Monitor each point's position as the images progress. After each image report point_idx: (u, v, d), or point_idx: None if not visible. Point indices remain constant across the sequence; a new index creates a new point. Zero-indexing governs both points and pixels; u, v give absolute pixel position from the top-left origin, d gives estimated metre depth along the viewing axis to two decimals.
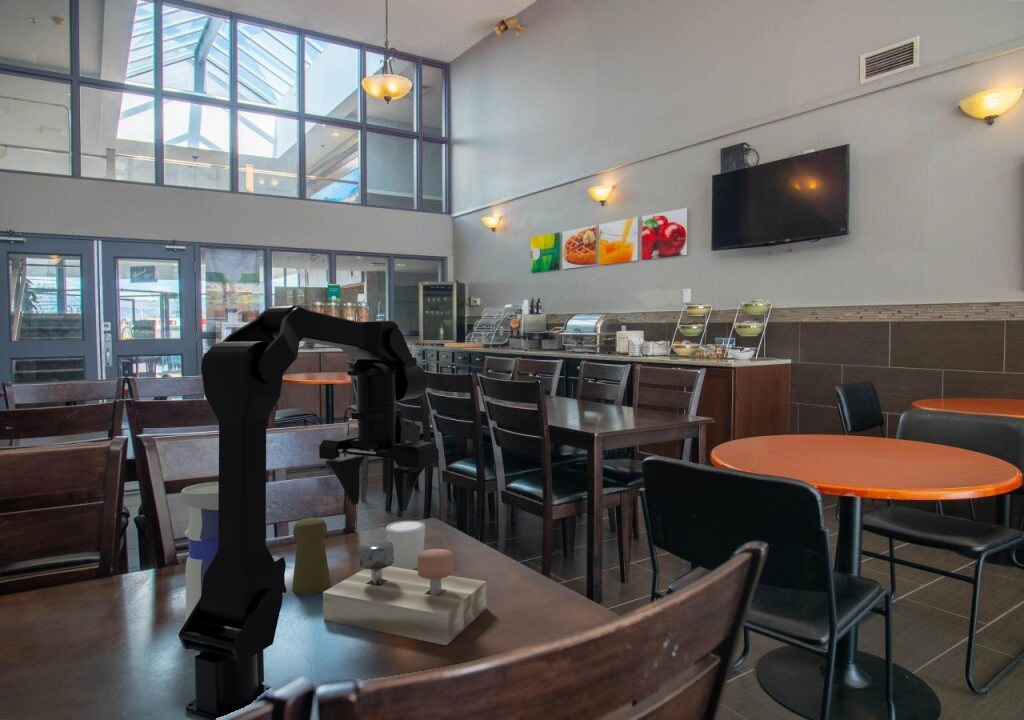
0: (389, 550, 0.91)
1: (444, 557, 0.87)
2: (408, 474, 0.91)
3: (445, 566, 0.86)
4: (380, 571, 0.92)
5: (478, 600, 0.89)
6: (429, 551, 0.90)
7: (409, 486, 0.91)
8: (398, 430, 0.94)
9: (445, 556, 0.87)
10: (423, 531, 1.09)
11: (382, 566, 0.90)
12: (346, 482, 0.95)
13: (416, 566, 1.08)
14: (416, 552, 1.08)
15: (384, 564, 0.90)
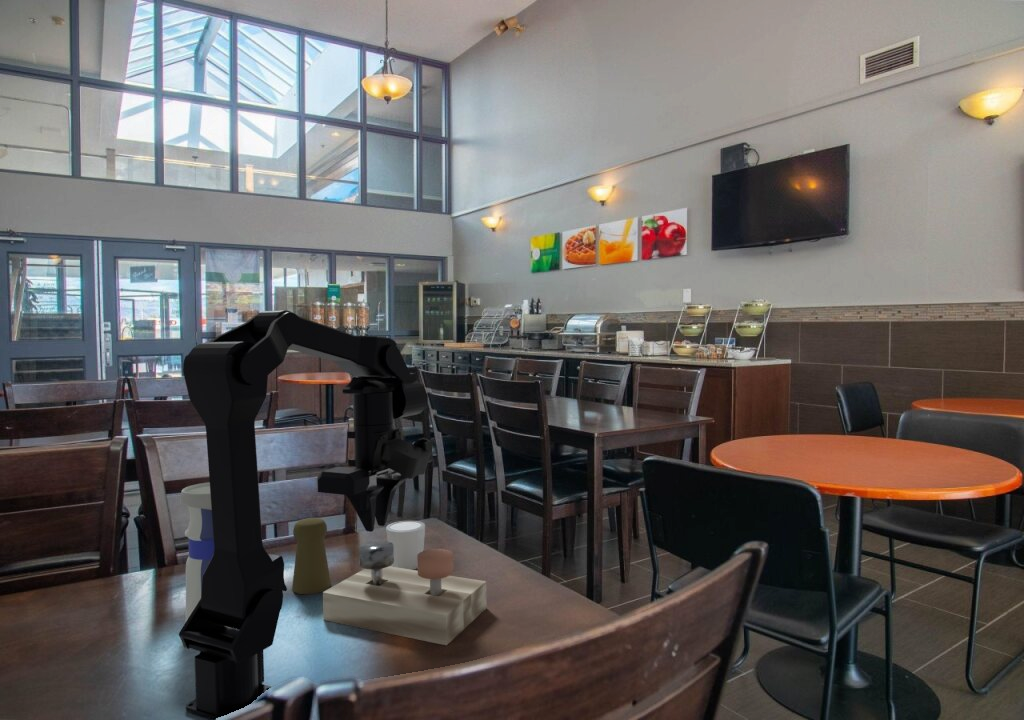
0: (389, 550, 0.91)
1: (444, 557, 0.87)
2: (363, 495, 0.89)
3: (445, 566, 0.86)
4: (380, 571, 0.92)
5: (478, 600, 0.89)
6: (429, 551, 0.90)
7: (364, 507, 0.89)
8: None
9: (445, 556, 0.87)
10: (423, 531, 1.09)
11: (382, 566, 0.90)
12: None
13: (416, 566, 1.08)
14: (416, 552, 1.08)
15: (384, 564, 0.90)
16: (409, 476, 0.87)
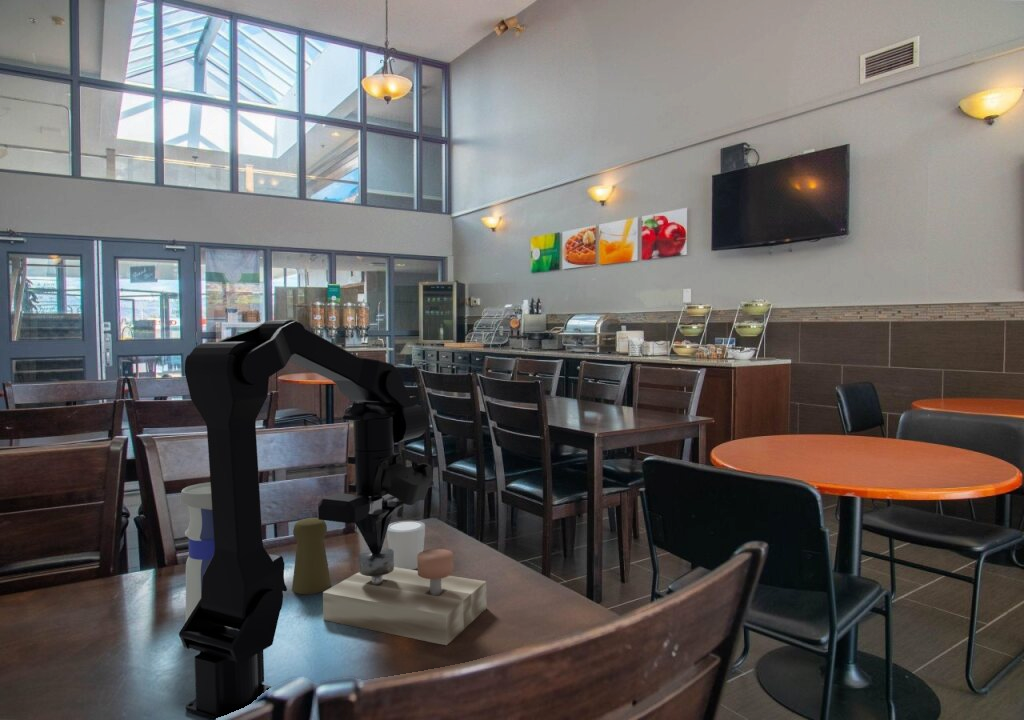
0: (389, 557, 0.91)
1: (444, 557, 0.87)
2: (369, 518, 0.91)
3: (445, 566, 0.86)
4: (380, 578, 0.92)
5: (478, 600, 0.89)
6: (429, 551, 0.90)
7: (370, 530, 0.91)
8: None
9: (445, 556, 0.87)
10: (423, 531, 1.09)
11: (382, 573, 0.90)
12: None
13: (416, 566, 1.08)
14: (416, 552, 1.08)
15: (384, 571, 0.90)
16: (409, 502, 0.87)
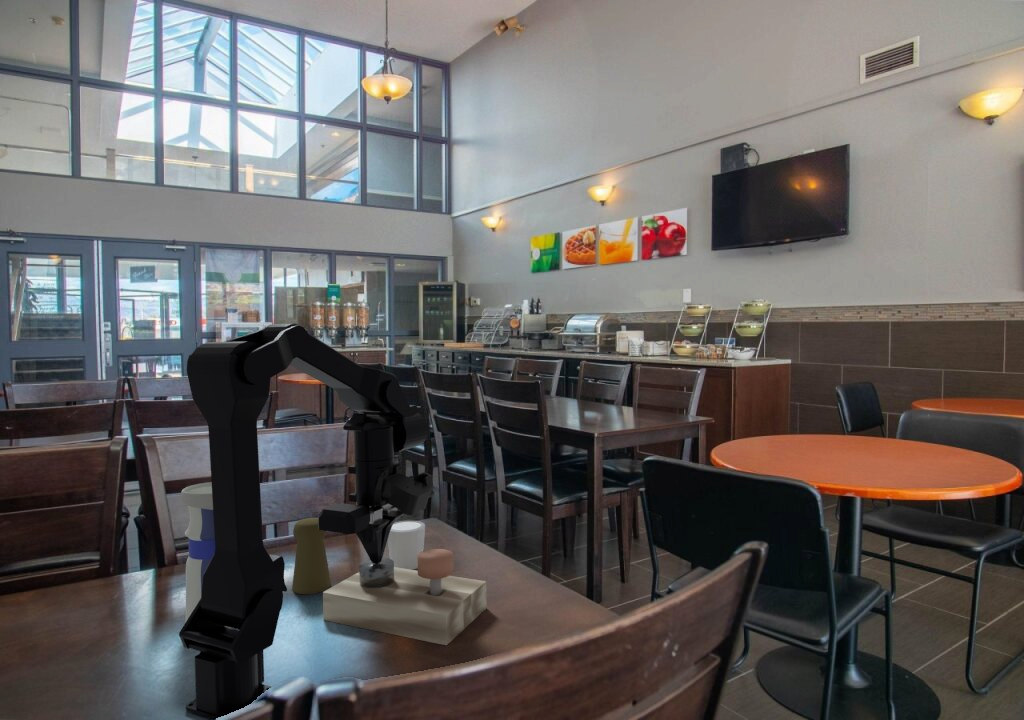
0: (389, 568, 0.91)
1: (444, 557, 0.87)
2: (369, 528, 0.91)
3: (445, 566, 0.86)
4: None
5: (478, 600, 0.89)
6: (429, 551, 0.90)
7: (370, 540, 0.91)
8: None
9: (445, 556, 0.87)
10: (423, 531, 1.09)
11: (382, 584, 0.90)
12: None
13: (416, 566, 1.08)
14: (416, 552, 1.08)
15: (384, 582, 0.90)
16: (409, 512, 0.87)
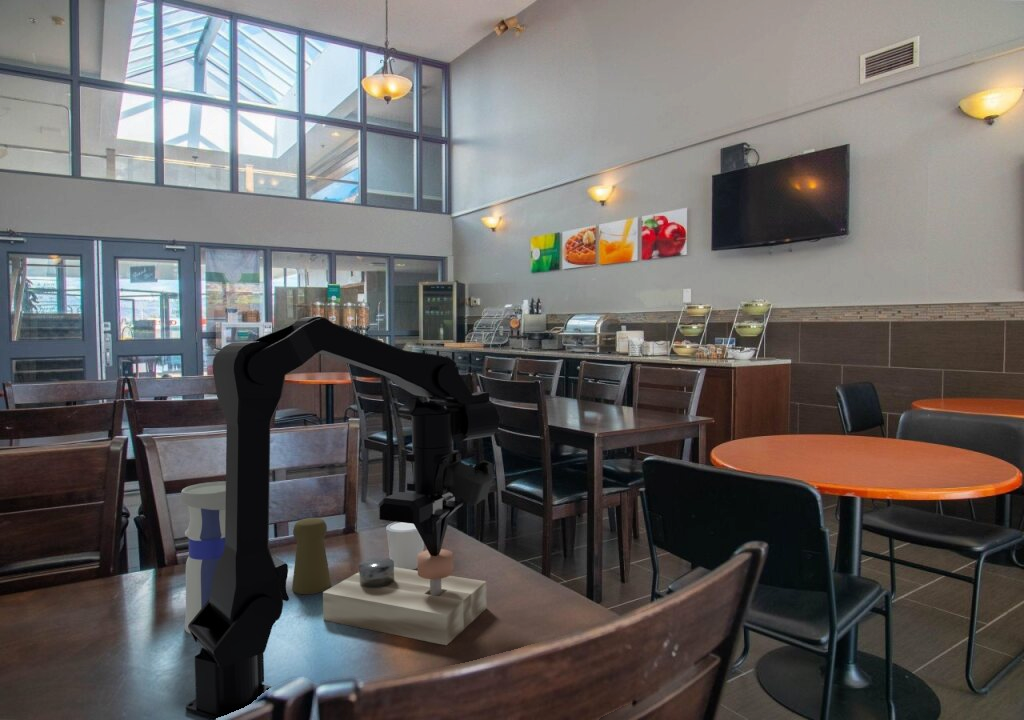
0: (389, 568, 0.91)
1: (444, 557, 0.87)
2: (428, 518, 0.87)
3: (445, 566, 0.86)
4: None
5: (478, 600, 0.89)
6: None
7: (429, 531, 0.87)
8: None
9: (445, 556, 0.87)
10: None
11: (382, 584, 0.90)
12: None
13: (416, 566, 1.08)
14: (416, 552, 1.08)
15: (384, 582, 0.90)
16: (473, 502, 0.83)
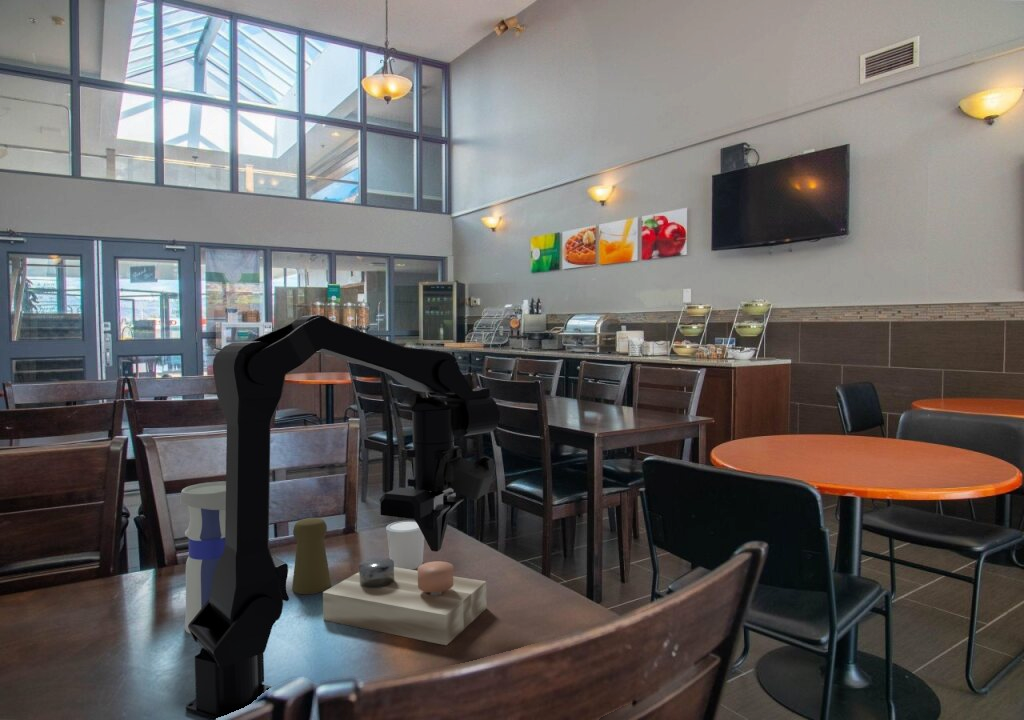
0: (389, 568, 0.91)
1: (444, 570, 0.87)
2: (429, 514, 0.87)
3: (445, 579, 0.86)
4: None
5: (478, 600, 0.89)
6: (429, 563, 0.90)
7: (430, 527, 0.87)
8: None
9: (445, 569, 0.87)
10: None
11: (382, 584, 0.90)
12: None
13: (416, 566, 1.08)
14: (416, 552, 1.08)
15: (384, 582, 0.90)
16: (474, 497, 0.83)
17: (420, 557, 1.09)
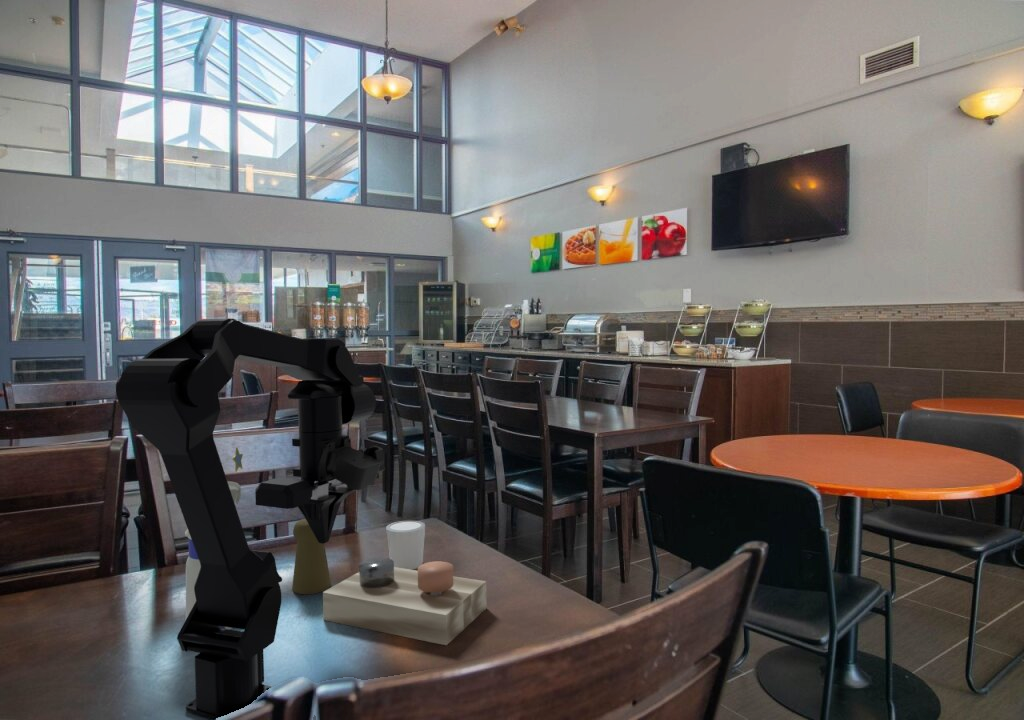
0: (389, 568, 0.91)
1: (444, 570, 0.87)
2: (314, 505, 0.84)
3: (445, 579, 0.86)
4: None
5: (478, 600, 0.89)
6: (429, 563, 0.90)
7: (316, 518, 0.84)
8: None
9: (445, 569, 0.87)
10: (423, 531, 1.09)
11: (382, 584, 0.90)
12: None
13: (416, 566, 1.08)
14: (416, 552, 1.08)
15: (384, 582, 0.90)
16: (355, 487, 0.81)
17: (420, 557, 1.09)
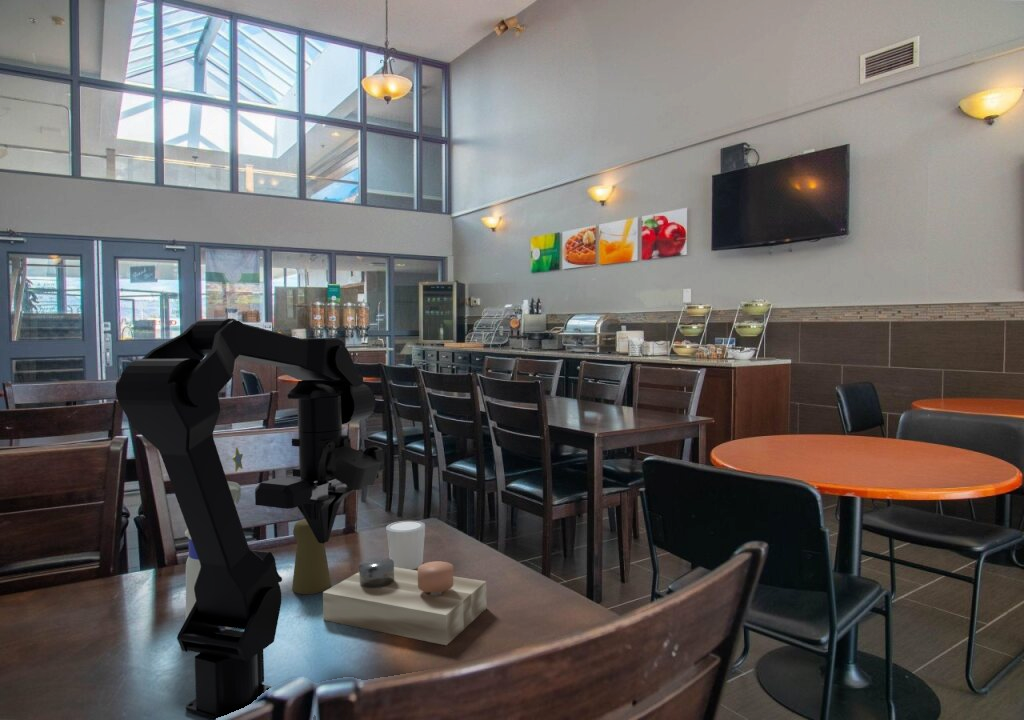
0: (389, 568, 0.91)
1: (444, 570, 0.87)
2: (314, 504, 0.84)
3: (445, 579, 0.86)
4: None
5: (478, 600, 0.89)
6: (429, 563, 0.90)
7: (315, 518, 0.84)
8: None
9: (445, 569, 0.87)
10: (423, 531, 1.09)
11: (382, 584, 0.90)
12: None
13: (416, 566, 1.08)
14: (416, 552, 1.08)
15: (384, 582, 0.90)
16: (355, 487, 0.81)
17: (420, 557, 1.09)
